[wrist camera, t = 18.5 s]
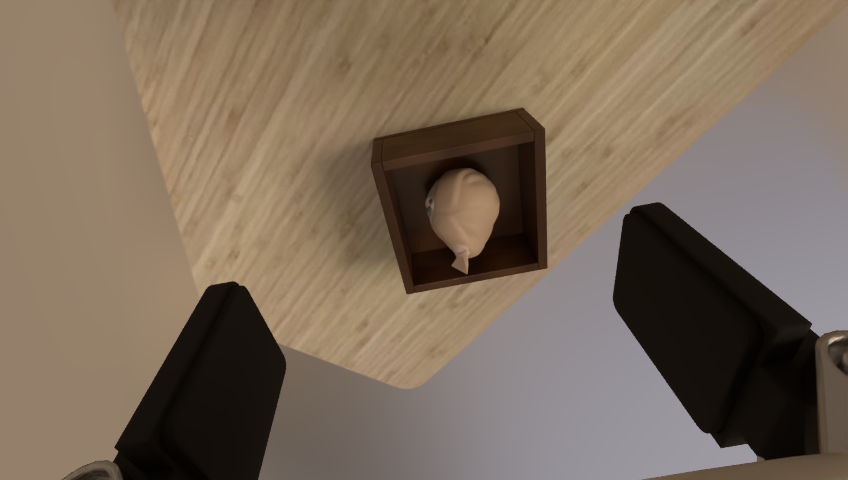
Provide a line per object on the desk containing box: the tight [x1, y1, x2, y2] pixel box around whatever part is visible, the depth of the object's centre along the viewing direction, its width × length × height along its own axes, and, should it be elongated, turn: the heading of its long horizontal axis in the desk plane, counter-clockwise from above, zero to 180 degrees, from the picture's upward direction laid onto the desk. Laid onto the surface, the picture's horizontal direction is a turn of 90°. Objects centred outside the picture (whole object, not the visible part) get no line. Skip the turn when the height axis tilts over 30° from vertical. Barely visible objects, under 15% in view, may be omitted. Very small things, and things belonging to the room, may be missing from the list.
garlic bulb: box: [425, 168, 500, 274], centre depth 32 cm, size 7×6×8 cm
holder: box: [371, 108, 547, 294], centre depth 34 cm, size 13×13×6 cm
